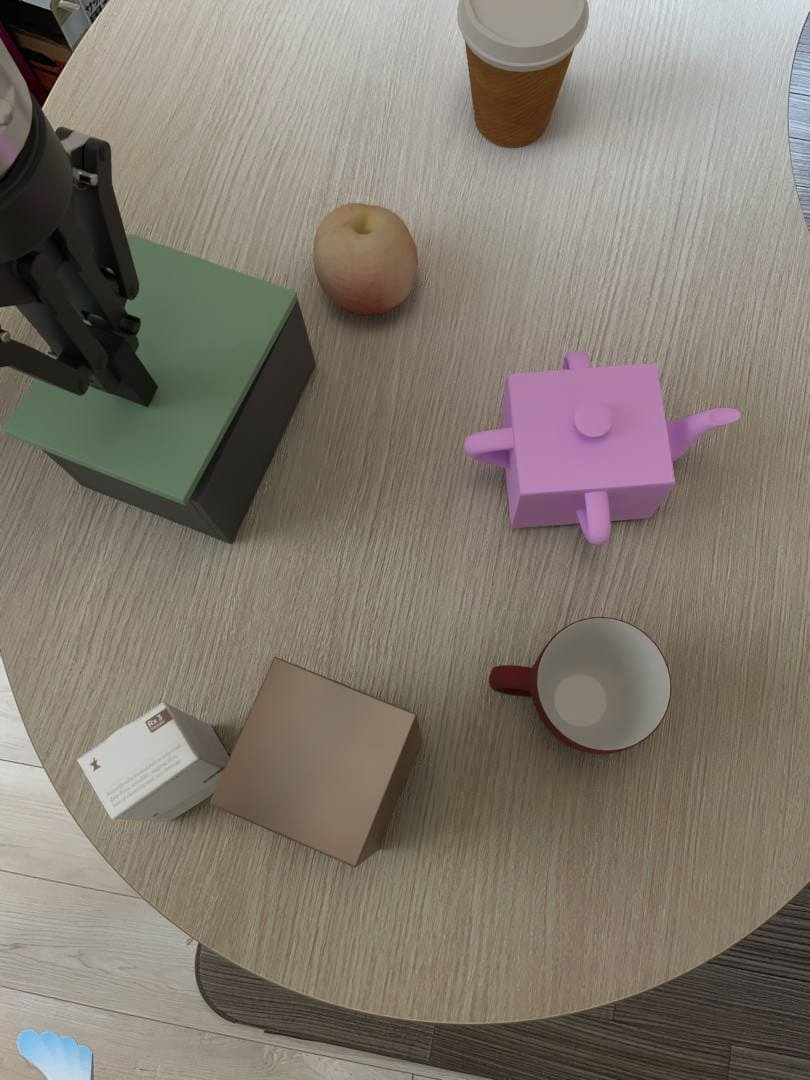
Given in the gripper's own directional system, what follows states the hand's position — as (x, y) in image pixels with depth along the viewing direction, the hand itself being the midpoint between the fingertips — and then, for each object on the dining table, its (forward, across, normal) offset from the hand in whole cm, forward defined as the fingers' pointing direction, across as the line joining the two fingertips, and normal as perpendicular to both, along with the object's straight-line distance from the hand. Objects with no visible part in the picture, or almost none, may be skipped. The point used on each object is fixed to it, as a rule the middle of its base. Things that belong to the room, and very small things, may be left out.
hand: (133, 389), depth 60 cm
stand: (+12, -16, -20) cm, 29 cm away
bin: (+12, +3, 0) cm, 13 cm away
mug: (+13, -6, -32) cm, 35 cm away
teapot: (+13, +10, -28) cm, 33 cm away
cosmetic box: (+13, -20, -10) cm, 26 cm away
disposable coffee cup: (+13, +38, -12) cm, 41 cm away
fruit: (+13, +18, -7) cm, 24 cm away
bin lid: (+2, +3, 0) cm, 3 cm away
